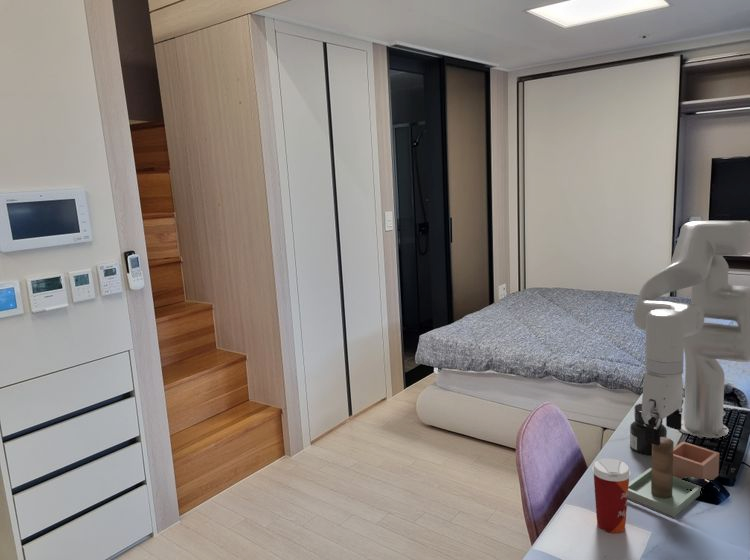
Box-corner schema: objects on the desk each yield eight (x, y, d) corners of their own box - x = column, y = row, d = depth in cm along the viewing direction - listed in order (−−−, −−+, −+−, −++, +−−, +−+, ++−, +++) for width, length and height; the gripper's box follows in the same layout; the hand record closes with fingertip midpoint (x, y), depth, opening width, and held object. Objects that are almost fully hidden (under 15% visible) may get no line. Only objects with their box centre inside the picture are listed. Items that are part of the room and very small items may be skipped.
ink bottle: (636, 438, 160) (637, 398, 158) (670, 447, 154) (671, 405, 152) (624, 452, 153) (625, 411, 151) (660, 462, 147) (661, 418, 145)
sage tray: (650, 476, 141) (650, 467, 140) (701, 496, 131) (701, 486, 131) (621, 497, 133) (621, 487, 133) (674, 519, 124) (674, 509, 123)
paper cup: (634, 537, 119) (634, 476, 116) (595, 535, 120) (595, 474, 118) (625, 515, 126) (626, 457, 124) (589, 513, 128) (589, 456, 125)
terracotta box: (681, 464, 145) (682, 441, 144) (718, 477, 138) (719, 452, 137) (665, 477, 140) (665, 453, 139) (702, 491, 133) (703, 465, 132)
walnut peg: (656, 486, 135) (657, 435, 133) (675, 493, 132) (677, 441, 129) (647, 493, 132) (648, 441, 130) (666, 500, 129) (667, 447, 127)
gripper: (666, 351, 134) (665, 418, 138) (627, 372, 124) (627, 443, 128) (699, 357, 128) (697, 427, 132) (661, 380, 118) (661, 455, 122)
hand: (663, 435), depth 130 cm, fingers open, 9 cm apart
